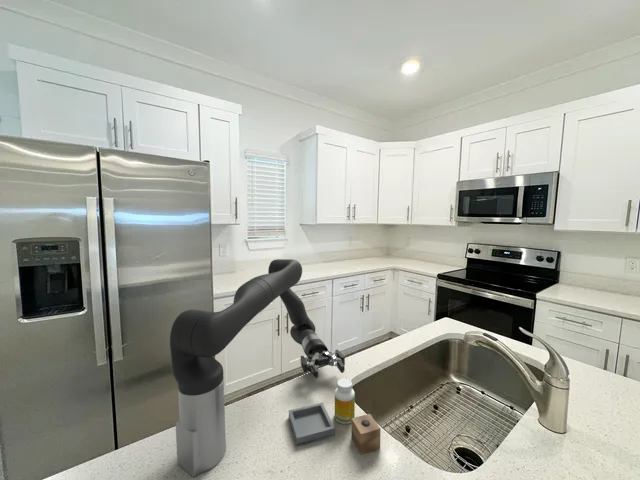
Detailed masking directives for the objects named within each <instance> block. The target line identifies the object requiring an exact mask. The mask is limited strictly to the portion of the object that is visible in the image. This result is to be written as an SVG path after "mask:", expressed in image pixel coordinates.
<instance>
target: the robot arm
mask: <svg viewBox="0 0 640 480" xmlns="http://www.w3.org/2000/svg"><path fill="white" fill-rule="evenodd" d="M267 271H268V272H267V273H264V274H260V275H258V276H255V277H253V278H251V279H249V280H248V281H246V282H244V283H243V284H241V285H240V286H239V287H238V288H237V290H236V291H235V293H234V298H233V303H232V304H231V305H229V306H227V307H226V308H224V309H222V310H220V311H207V310H201V309H200V310H199V309H186V310H184V311H182V312H181V313H179V315H178V316H177V317H176V318H175V319H174V321H173V323H172V325H171V330H170V333H169V334H170V335H169V346H170V347H169V349H170V350H169V351H170V357H171V366H172V374H173V377H174V379H175V381H176V383H177V392H178V393H177V394H178V408H179V409H178V412H179V413H178V416H179V417H178V418H179V420H178V421H177V422H176V423H175V441H176V442H175V443H176V459H177V460H176V461H177V462H176V463H177V465H178V466H179V467H181V468H182V469H183V470H185V471H186V472H187V473H188V474H189V475H190V476H191V477H193V478H195V477H196V476H198V475H199V474H201V473H203V472H206V471H209V470H211V469H212V468H214V467H216V466H217V465H218V464H219V463H220V462H221V460H222V459H223V458H224V456H225V454H226V451H227V443H226V442H227V441H226V440H227V439H226V415H225V414H226V412H225V411H226V410H225V408H226V407H225V387H224V386H225V384H224V383H225V382H224V380H225V379H224V368H223V365H222V364H221V362H219V360H217V359H216V358H214V357H215V356H217V355H219V354H220V353H221V352H222V351H223V350H225V348H226V347H227V346H228V345H229V344H230V343H231V342H232V341H233V340H234V339H235V337H236V336H237V335H238V334H239V333H240V332H241V330H243V328H245V327H246V326H247V325H248V323H250V322H251V321H252V320H253V319H254V318H255V317H256V316H257V315H258V314H260V313H261V312H262V311H264V309H266V308H268V306H269V305H270V304H271V303H272V302H273V301H275V300H276V299H277V298H278V297H280V299H281V301H282V302H283V304H284V307H285V308H286V311H287V314H288V317H289V320H290V322H291V324H292V326H291V328H290V330H289V333H290V337H291V339H292V340H293V341H294V342H295V343H297V344H298V345H300V346H301V348H302V350H303V353H304V354H305V355H306V356H304V355H300V367H301V368H302V372H303V373H307V372H309V373H310V375H312V377H313V378H315V379H318V378H319V372H318V369H317V368H318V367H321V366H331V367H334V366H335V367H336V368H337V369H338V371H339V372H340V374H343V373H344V372H345V371H346V370H345V365H346V362H345V361H346V357H345V356H344V354H342V352H341V351H340V350H339V349H335V351H334V352H331V351H329V349H328V347H327V346H326V344H325V343H324V341H323V340H322V339H321V338H320V337H319V335H318V334H317V333H316V325H315V323H314V322H313V321H312V320H311V318H309V316H308V314H307V310H306V306H305V304H304V302H303V300H302V299H301V298H300V297H299V296H298V294H296V293H295V292H294V291H293V290H292V289H291V288H292V287H294V286H296V285H297V284H298V283H299V282H300V280H301V278H302V275H303V266H302V264H301V262H300V261H298V260H296V259H290V258H289V259H287V258H286V259H284V258H283V259H282V258H281V259H279V258H278V259H273V260H271V262H270V263H269V266H268V270H267ZM308 363H309V364H308Z"/></svg>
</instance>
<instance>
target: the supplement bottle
mask: <svg viewBox="0 0 640 480" xmlns="http://www.w3.org/2000/svg"><path fill="white" fill-rule="evenodd" d="M355 395H356V392H355V391H354V388H353V382H352V380H350V379H348V378H339V379H338V380H337V383H336V388H335V390H334V418H335V420H336V421H337V422H338V423H339V424H342V425H347V424H348V425H349V424H351V423H352V418H355V413H356V412H355V410H356V408H355V407H356V405H355V404H356V399H355V398H356V396H355Z"/></svg>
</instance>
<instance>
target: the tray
mask: <svg viewBox="0 0 640 480" xmlns="http://www.w3.org/2000/svg"><path fill="white" fill-rule="evenodd" d="M288 419H289V423H290V427H291V430H292V434H293V436H294V441H295V444H296V446H297V447H298V446H303V445H306V444H310V443H314V442H317V441H320V440H324V439H327V438H331V437H335V436H336V427H335V425H334V423H333V421H332V418H330V415H329V413H328V411H327V408H326V407H325V405H324V403H323V402H321V403H320V402H319V403H315V404H312V405H307V406H303V407H299V408H298V407H297V408H293V409H289V410H288Z"/></svg>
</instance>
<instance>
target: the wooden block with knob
mask: <svg viewBox="0 0 640 480" xmlns="http://www.w3.org/2000/svg"><path fill="white" fill-rule="evenodd" d="M350 424H351V427H350V428H351V431H350V432H351V433H350V434H351V440H352V442H353V443H354V445H355V447H356V449H357V451H358V453H359V454H360V455H361V456H362V455H364V454H368V453H371V452H374V451H377V450H380V449H381V427H380V425H378V423H377V421H376V420H375V418H373V415H371V413H367V414H363V415H360V416H356V417H354V418H352V422H351V423H350Z"/></svg>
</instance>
